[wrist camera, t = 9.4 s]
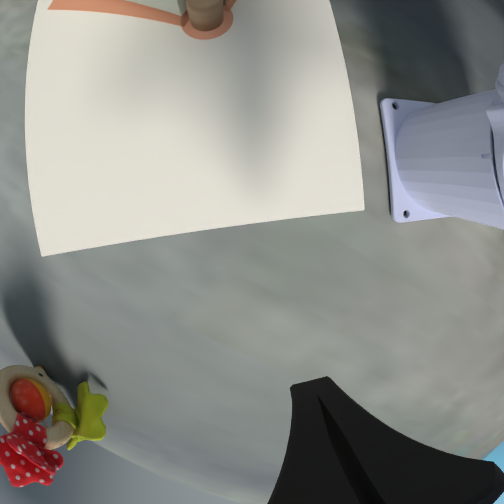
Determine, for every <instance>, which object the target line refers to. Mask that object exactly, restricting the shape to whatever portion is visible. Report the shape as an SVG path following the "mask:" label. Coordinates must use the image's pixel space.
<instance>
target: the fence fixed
mask: <svg viewBox="0 0 504 504" xmlns="http://www.w3.org/2000/svg"><path fill="white" fill-rule="evenodd" d="M185 2H186V6H187V10H188V15H189V19H190V23H191V25H192V26H193V27H194V28H195V29H196V30H199V31H211V30H214V29H216V28H218V27H219V26H220V25H221V24H222V22H223V5H224V6H226V5H227V3H228V2H229V0H185Z"/></svg>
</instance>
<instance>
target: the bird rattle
mask: <svg viewBox="0 0 504 504" xmlns="http://www.w3.org/2000/svg"><path fill="white" fill-rule="evenodd" d="M77 401H78V402H77V407H75V409H74V410H73V408H71V406H70V404H69V402H68V400H67V398H66V397H65V395H64V394H63V392H62V391H61V390H60V388H59V387H58V386H57V385H56V384H55V383H54V382H53V381H52V380H51V379H50V378H49V377H48V376H47V374H46V373H45V371H44V369H43V368H42V367H41V366H36V367H34V368H32V367H28V366H24V365H13V366H8V367H5V368H3V369H2V370H0V422H1V423H2V425H3V426H4V427H5V428H6V430H7V431H8V432H9V433H8V434H5V435H3V436H1V437H0V464H1V465H2V466H3V467H4V469H5V471H6V473H7V475H8V478H9V480H10V483H11V484H12V485H13V486H15V487H22V486H25V485H27V484H29V483H31V482H39V483H42V484H44V485H49V484H51V483H52V481H53V475H55V473H56V470H58V469H60V468H61V467H62V465H63V457H62V456H61V455H60V453H58V452H57V451H53V450H51V449H55V448H57V447H60V446H62V445H63V444H65V443H66V442H67V441H68V440H69V439H70V440H69V442H68V443H67V445H66V446H67V449H68V450H70V449H72V448H73V447H74V446H75V445H76V443H77V441H78V442H80V441H83V440H84V439H87V440H94V441H98V440H101V439H103V437H104V436H105V434H106V427H105V425H104V423H103V421H102V419H101V417H102V415H103V414H104V412H105V411H106V409H107V406H108V400H107V398H106V397H105V396H104V395H101V394H91V393H90V392H89V386H88V383H87V382H82V383H80V384H79V385H78V397H77ZM51 406H52V410H53V416H52V427H48V426H47V424H46V423H45V422H44V420H45V419H46V418H47V417H48V416H49V414H50V411H51ZM40 422H43V423H44V425H45V426H46V428H45V427H44V426H41V425H38V424H37V423H40Z"/></svg>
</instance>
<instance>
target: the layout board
mask: <svg viewBox="0 0 504 504" xmlns="http://www.w3.org/2000/svg"><path fill="white" fill-rule="evenodd" d="M25 139H26V158H27V170H28V180H29V189H30V196H31V203H32V210H33V216H34V222H35V227H36V233H37V238H38V242H39V247H40V251H41V256H42V257H43V256H48V255H54V254H59V253H64V252H70V251H76V250H81V249H87V248H93V247H99V246H105V245H111V244H117V243H123V242H129V241H135V240H141V239H148V238H154V237H160V236H167V235H174V234H180V233H187V232H194V231H201V230H208V229H215V228H222V227H229V226H236V225H244V224H251V223H259V222H267V221H275V220H283V219H291V218H299V217H307V216H316V215H324V214H333V213H342V212H351V211H361V210H364V195H363V183H362V172H361V162H360V153H359V145H358V137H357V130H356V123H355V116H354V109H353V103H352V97H351V92H350V86H349V81H348V76H347V71H346V66H345V61H344V57H343V52H342V48H341V43H340V39H339V35H338V31H337V27H336V23H335V19H334V16H333V12H332V9H331V5H330V2H329V0H229V2H228V3H227V5H226V6H224V5H223V22H222V24H221V25H220V26H219V27H218V28H216V29H214V30H211V31H199V30H196V29H195V28H194V27H193V26H192V25H191V23H190V19H189V15H188V10H186V11H185V12H184V13H183V15H182V16H179V15H176V14H173V13H170V12H167V11H163V10H160V9H156V8H153V7H149V6H145V5H142V4H138V3H133V2H129V1H125V0H38V3H37V8H36V13H35V18H34V23H33V28H32V34H31V41H30V48H29V56H28V66H27V77H26V95H25Z"/></svg>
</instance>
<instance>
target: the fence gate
mask: <svg viewBox="0 0 504 504" xmlns="http://www.w3.org/2000/svg"><path fill="white" fill-rule="evenodd" d="M125 1H129V2H133V3H138V4H142V5H145V6H149V7H153V8H156V9H160V10H163V11H167V12H170V13H173V14H176V15H179V16H182V15H183V13H184V12H185V11H186V10H187V6H186V2H185V0H125Z"/></svg>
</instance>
